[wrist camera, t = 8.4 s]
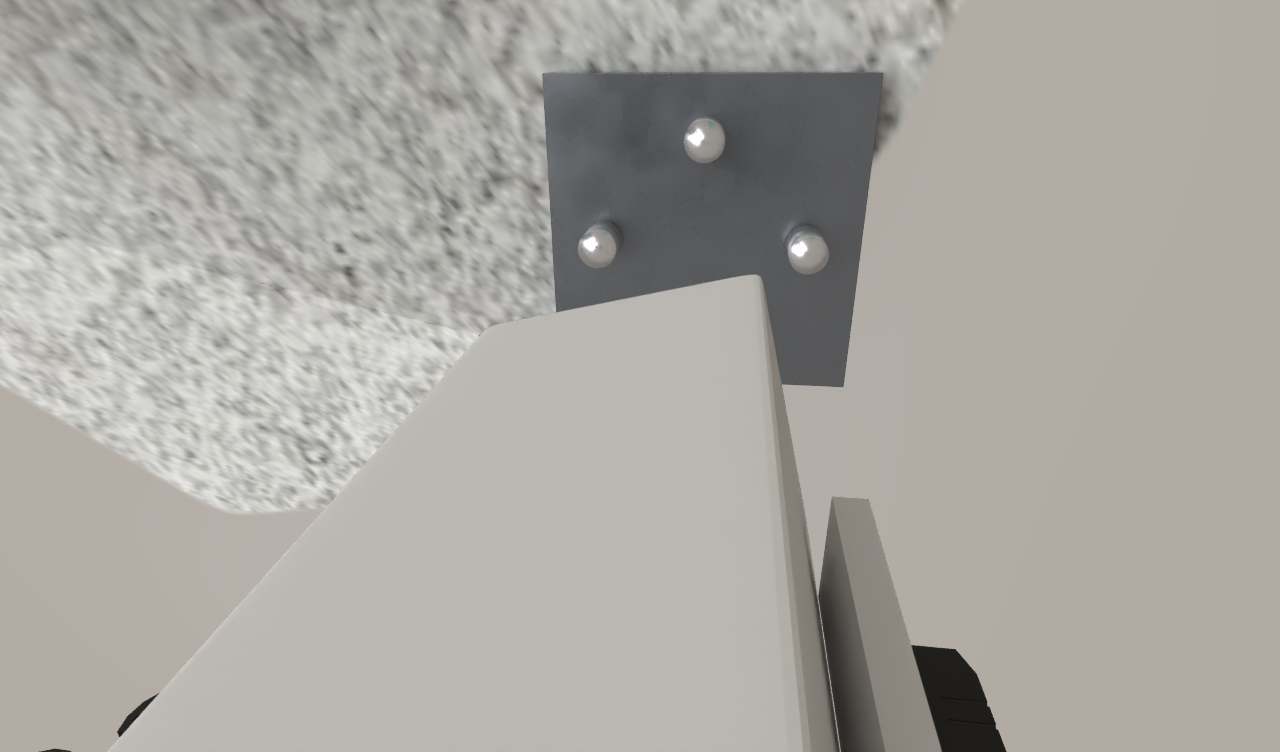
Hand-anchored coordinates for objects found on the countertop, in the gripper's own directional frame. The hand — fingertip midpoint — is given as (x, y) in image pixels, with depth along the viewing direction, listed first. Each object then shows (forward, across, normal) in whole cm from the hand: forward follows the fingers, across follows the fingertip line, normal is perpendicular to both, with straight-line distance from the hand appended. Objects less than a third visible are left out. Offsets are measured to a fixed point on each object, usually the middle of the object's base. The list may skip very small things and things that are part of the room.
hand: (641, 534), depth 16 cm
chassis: (+27, 0, 0) cm, 27 cm away
